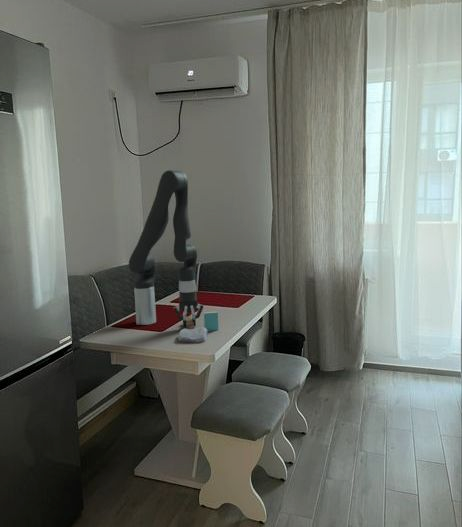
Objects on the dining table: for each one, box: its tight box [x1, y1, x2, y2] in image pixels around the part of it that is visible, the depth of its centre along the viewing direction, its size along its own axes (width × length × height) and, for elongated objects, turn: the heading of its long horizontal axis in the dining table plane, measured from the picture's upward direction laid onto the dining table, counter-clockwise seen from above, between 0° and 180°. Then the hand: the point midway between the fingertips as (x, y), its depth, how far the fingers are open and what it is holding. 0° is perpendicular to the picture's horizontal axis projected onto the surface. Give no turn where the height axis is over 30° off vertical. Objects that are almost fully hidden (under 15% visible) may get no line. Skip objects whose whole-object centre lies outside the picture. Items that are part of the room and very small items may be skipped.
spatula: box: [185, 315, 195, 330], centre depth 202 cm, size 5×18×4 cm, turn 11°
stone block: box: [177, 326, 208, 343], centre depth 188 cm, size 12×5×10 cm
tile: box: [203, 311, 219, 332], centre depth 199 cm, size 6×2×8 cm, turn 101°
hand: (189, 327), depth 204 cm, fingers closed on spatula, 3 cm apart
